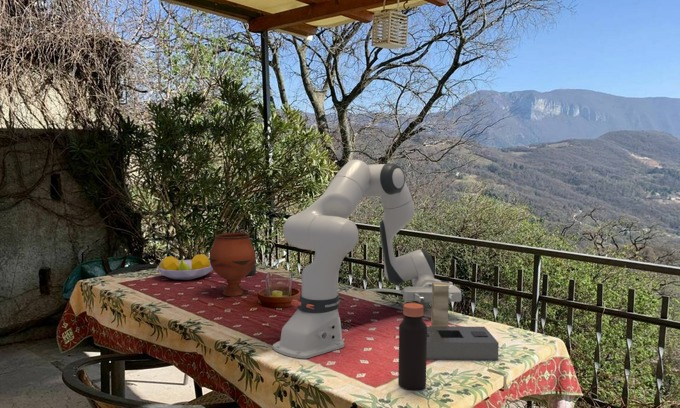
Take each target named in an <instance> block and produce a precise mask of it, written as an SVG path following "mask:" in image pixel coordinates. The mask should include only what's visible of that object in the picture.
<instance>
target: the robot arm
mask: <svg viewBox="0 0 680 408" xmlns="http://www.w3.org/2000/svg"><path fill="white" fill-rule="evenodd" d="M363 197H380V202H381V205H382V208H383V217H382V219H381V221H380V222H379V235H380V243H381V248H382V249H381V250H382V255H383V256H382V257H383V265H384V266H383V268H384V269H383V270H384V276H385V279H386V280H387V281H388V283H390V284H392V285H395V286H399V285H401V284H403V283H406V282H408V281H410V280H412V283H411V284H412V286H405V287H404V288H403V289H401V290H400V293H401V294H402V295H403V296H402V299H403V301H405V302H418V303H426V304H432V282H437V283H447V284H448V286H449V296H448V304H449V303H450V304H451V303H452V302H457V303H459V302H461V301H462V290H461V289H460V287H457V286H456V285H454V283H453V282H452V281H448V280H440V279H438V278H435V275H436V272H437V271H436V265H435V262H434V260H433V258H432V256H431V255H430V253H429V252H428V251H426V250H424V249H422V248H420V249H416V250H413V251H410V252H408V253H405V254H403V255H400V256H397V257H396V256H395V251H394V246H393V245H394V244H393V240H394V237H395V236H396V235H397V234H398V232H400V231H401V230H402V229H403V228H405V227H406V226H407V225H408V224H409V223H410V222H411V221H412V219H413V217H414V215H415V204H414V201H413V197H412V194H411V192H410V189H409V186H408V184H407V183H406V177H405V172H404V171H403V169H402V167H400V165H399V164H396V163H392V162H391V163H389V162H388V163H377V164H367V163H366V162H365V161H362V160H360V159H351V160H348V161H347V163H345V164H344V165H343V166H342V167H341V168H340V169H339V171H338V172H336V175H335V176H334V177H333V179H332V181H330V183H329V185H328V186H327V188H326V189H325V191H324V192H323V194H322V195H321V196H320V197H319V198H318V199H317V200H316V201H314V202H312V204H310V205H309V206H307V207H306V208H304V209H303V210H302V211H300V212H298V213H296V214H293V215H291V216H289V217H288V218H287V219H286V220H285V222H284V224H283V233H282V234H283V237H284V240H285V241H286V243H287V244H288V245H290V246H293V247H295V248H298V249H300V250H308V251H314V259H313V260H312V262H311V263H309V264H308V265H305V267H304V268H303V269H302V271H301V294H300V296H299V299H295V298H294V299H292V300H291V306H293V307H296V308H297V310H296V311H295V312H294V313H293V314H292V316H290V318H289V319H288V321H287V322H285V324H284V325H283V326H282V327H281V334H280V340H279V341H277V342H274V343H273V344H272V349H273V350H274V351H275V352H277V353H279V354H281V355H284V356H287V357H289V358H290V357H291V358H294V359H295V358H297V359H310V358H313V357H316V356H317V357H318V356H319V355H323V354H325V353H329V352H333V351H336V350H338V349H342V348H345V342H344V340H343V335H342V334H343V332H342V323H341V317H340V314H339V310H338V309H339V308H340V302H339V296H340V295H339V289H338V286H339V272H340V267H341V266H342V265H341V264H342V262H343V260H344V258H345V257H346V256H347V255H348V254H349V253H350V252H352V251H353V250H354V249H355V247H356V245H358V241H359V230H358V227H357V225H356V223H355V222H354V221H352V220H351V219H348V218H349V217H350V216H352V214H353V213H354V211H355V210H356V208H357V206H358V204H359V203H360V202H361V200H362V199H363Z"/></svg>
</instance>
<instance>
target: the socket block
mask: <svg viewBox="0 0 680 408" xmlns="http://www.w3.org/2000/svg"><path fill="white" fill-rule="evenodd" d="M426 326H427V355H426V361H427V360H428V361H429V360H434V361H440V360H441V361H442V360H443V361H449V360H450V361H499V341H497V339H496V338H495V337H494V336H493V335H492V334H491V332H490V331H489V330H488V329H487V328H486V326H464V325H462V326H457V325H456V326H455V325H453V326H452V325H451V326H449V325H448V326H431V325H426Z"/></svg>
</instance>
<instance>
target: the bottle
mask: <svg viewBox="0 0 680 408" xmlns="http://www.w3.org/2000/svg"><path fill="white" fill-rule="evenodd" d="M402 307H403V308H402V310H403V311H402V313H403V317H404V319H403V320H402V321H401V322H400V323H399V326H398V369H397V370H398V372H397V373H398V376H397V377H398V379H397V381H398V385H399V386H400V387H401V388H402V387H403V388H402V389H404V390H405V389H406V390H409V391H419V390H423V389H424V388H425V387H426V385H427V360H426V355H427V326H428V325H427V324H426V323H425V321H424V320H423V317H424V313H425V312H424V308H425V307H424V305H423V304H422V303H418V302H407V303H404V304H403V306H402Z"/></svg>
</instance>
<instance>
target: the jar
mask: <svg viewBox="0 0 680 408" xmlns="http://www.w3.org/2000/svg"><path fill="white" fill-rule="evenodd" d="M256 272H257V261H256V262H255V265H254V267H253V269H252V270H251V271H250V272H249V274H248V275H246V277H245V278H248V277H247V276H250V277H254V276H255V275H256ZM253 275H254V276H253Z"/></svg>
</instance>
